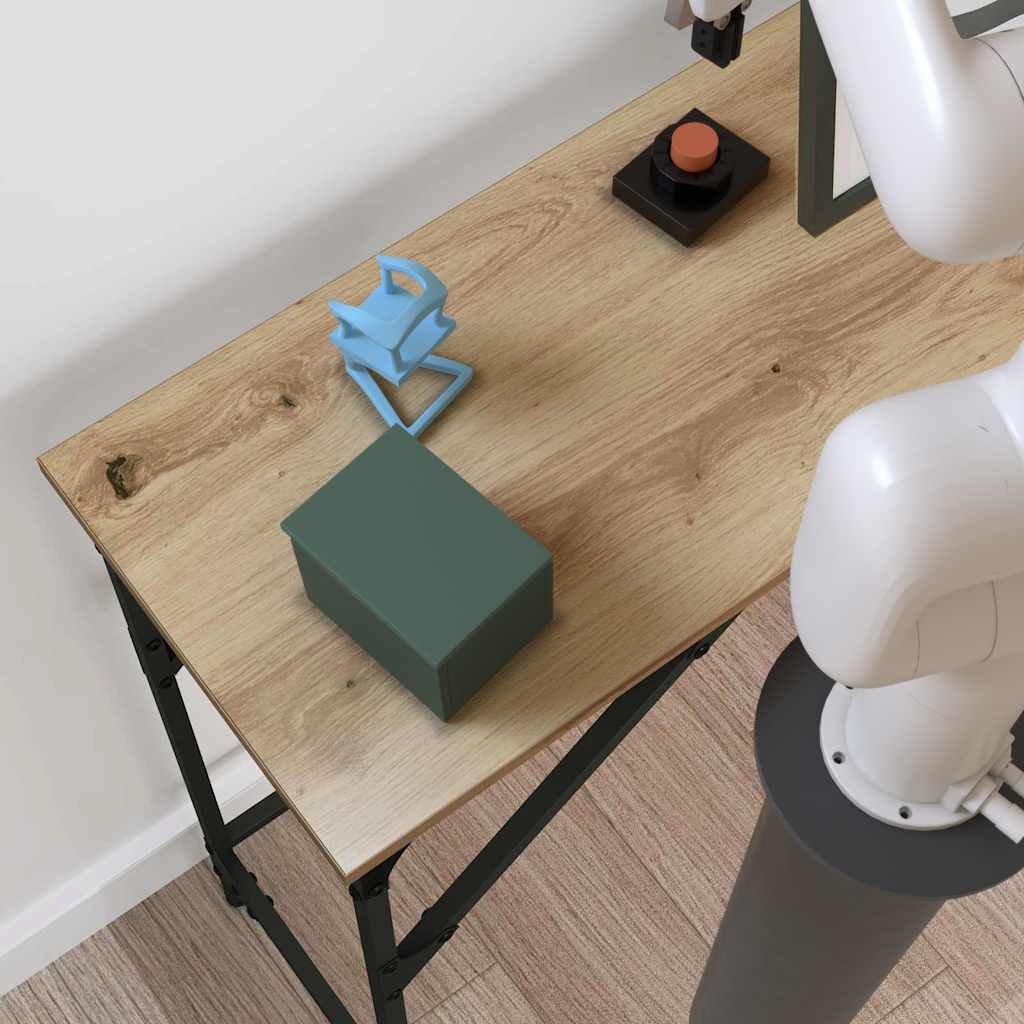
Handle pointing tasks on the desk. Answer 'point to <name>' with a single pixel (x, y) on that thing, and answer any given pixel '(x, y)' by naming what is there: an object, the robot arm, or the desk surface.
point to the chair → (398, 338)
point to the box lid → (417, 544)
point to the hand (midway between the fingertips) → (715, 53)
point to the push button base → (689, 182)
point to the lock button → (694, 147)
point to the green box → (428, 684)
